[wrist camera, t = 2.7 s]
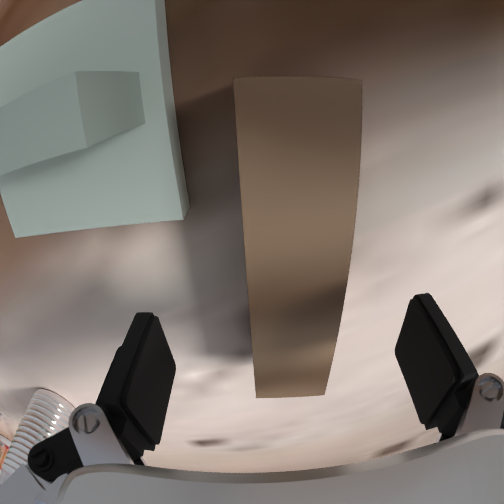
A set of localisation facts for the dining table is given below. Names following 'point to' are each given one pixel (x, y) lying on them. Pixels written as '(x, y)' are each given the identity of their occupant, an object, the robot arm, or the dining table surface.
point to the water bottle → (36, 428)
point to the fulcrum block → (90, 121)
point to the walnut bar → (297, 221)
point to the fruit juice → (3, 449)
